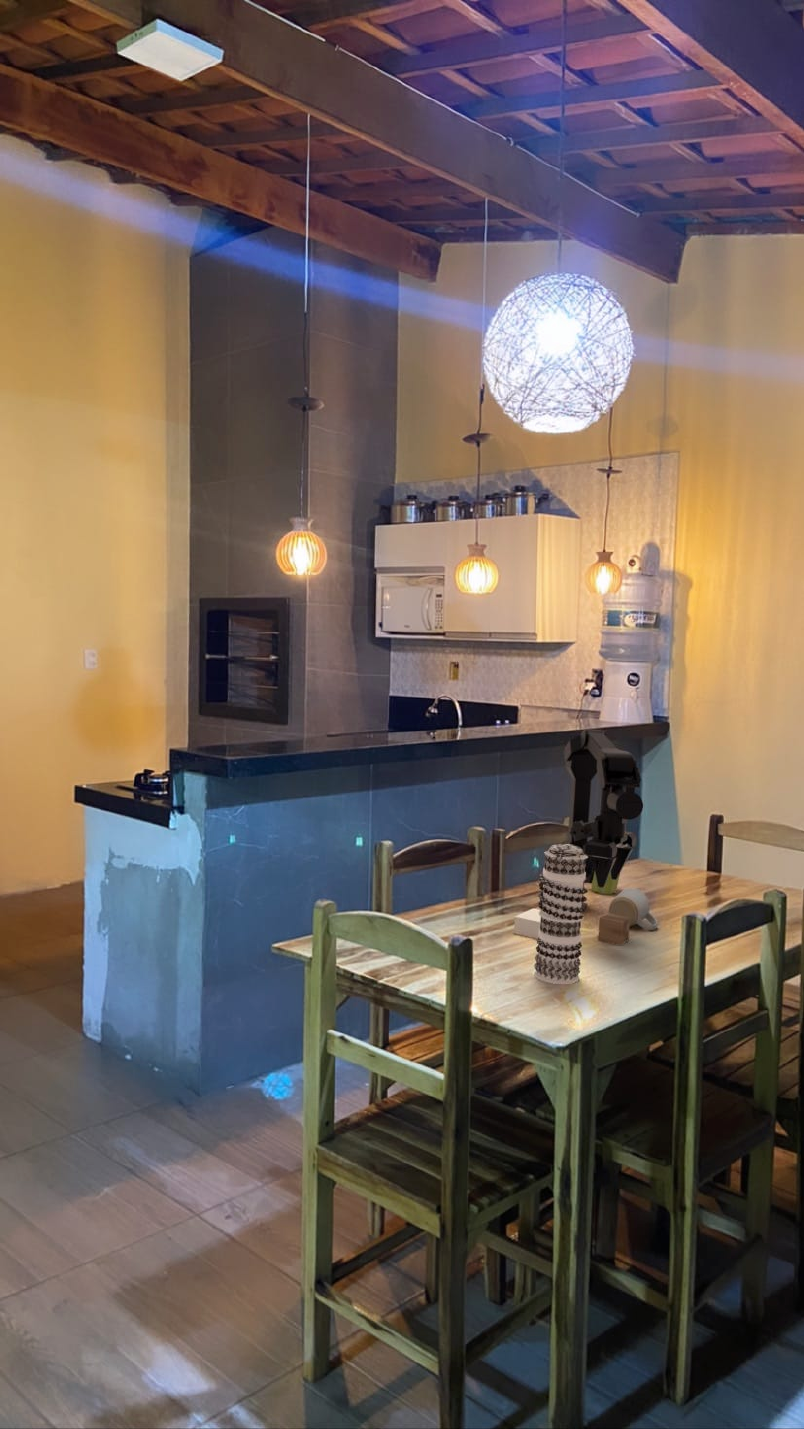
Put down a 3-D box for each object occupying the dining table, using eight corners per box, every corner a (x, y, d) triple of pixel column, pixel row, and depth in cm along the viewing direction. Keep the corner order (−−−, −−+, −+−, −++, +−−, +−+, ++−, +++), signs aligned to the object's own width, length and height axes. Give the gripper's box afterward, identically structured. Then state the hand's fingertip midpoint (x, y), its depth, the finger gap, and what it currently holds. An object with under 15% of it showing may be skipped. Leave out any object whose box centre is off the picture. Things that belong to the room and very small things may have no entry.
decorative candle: (543, 965, 199) (552, 839, 197) (588, 975, 194) (598, 846, 192) (524, 977, 191) (533, 846, 189) (570, 988, 186) (580, 854, 184)
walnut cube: (606, 935, 222) (607, 913, 222) (628, 940, 220) (630, 917, 219) (598, 940, 218) (599, 917, 218) (620, 945, 216) (622, 922, 215)
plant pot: (625, 897, 257) (628, 863, 257) (588, 895, 257) (591, 861, 257) (618, 888, 267) (621, 855, 266) (582, 886, 267) (584, 853, 266)
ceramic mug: (605, 924, 231) (608, 891, 230) (616, 917, 238) (619, 884, 237) (651, 934, 226) (655, 900, 225) (661, 926, 233) (664, 893, 232)
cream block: (532, 925, 227) (533, 908, 227) (569, 934, 223) (570, 916, 222) (513, 934, 220) (515, 916, 220) (552, 943, 215) (553, 925, 215)
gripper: (590, 801, 229) (585, 869, 230) (562, 811, 213) (556, 884, 214) (639, 807, 224) (634, 877, 225) (614, 818, 207) (608, 894, 209)
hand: (607, 883), depth 218 cm, fingers open, 9 cm apart
